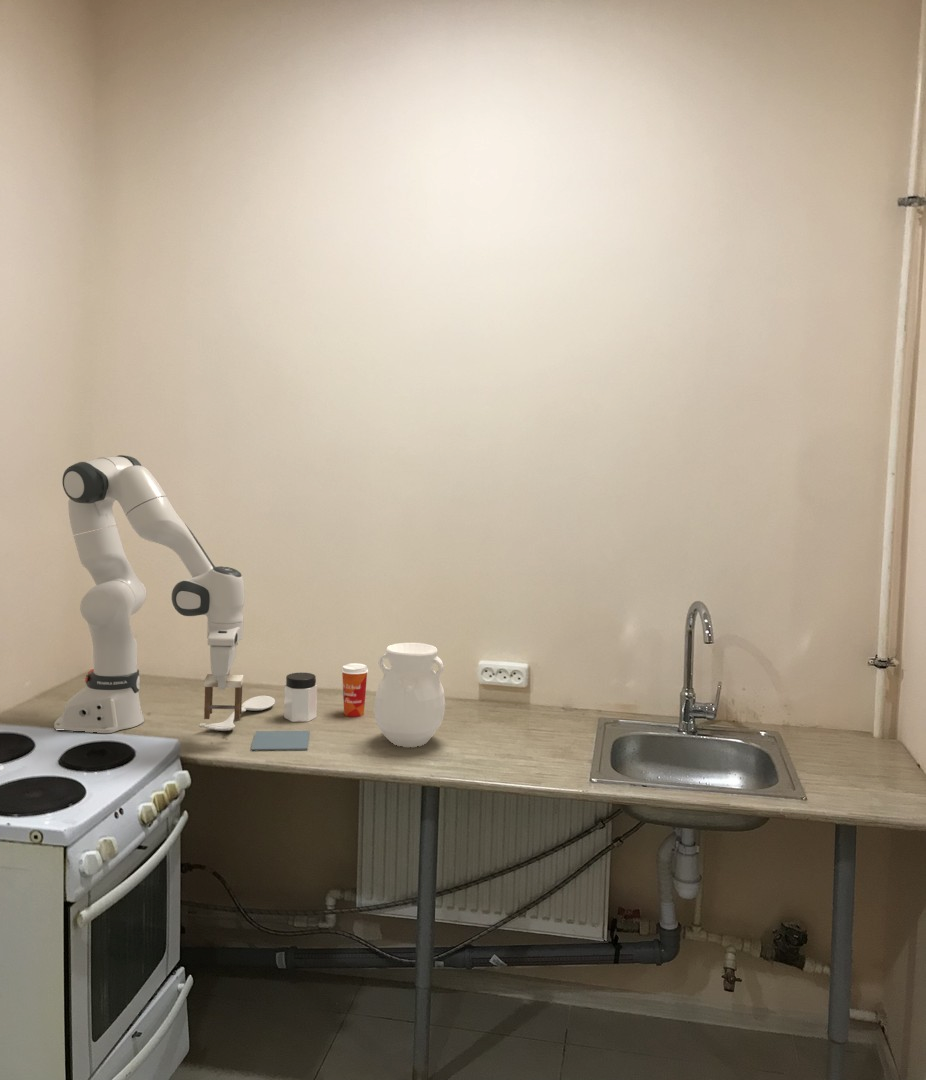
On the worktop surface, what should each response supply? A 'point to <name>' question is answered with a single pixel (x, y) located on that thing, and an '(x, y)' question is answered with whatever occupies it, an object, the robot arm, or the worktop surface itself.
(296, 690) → the jar
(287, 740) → the mat
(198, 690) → the worktop surface
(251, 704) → the white spork
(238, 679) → the stool
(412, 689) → the white vase
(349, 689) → the paper cup
